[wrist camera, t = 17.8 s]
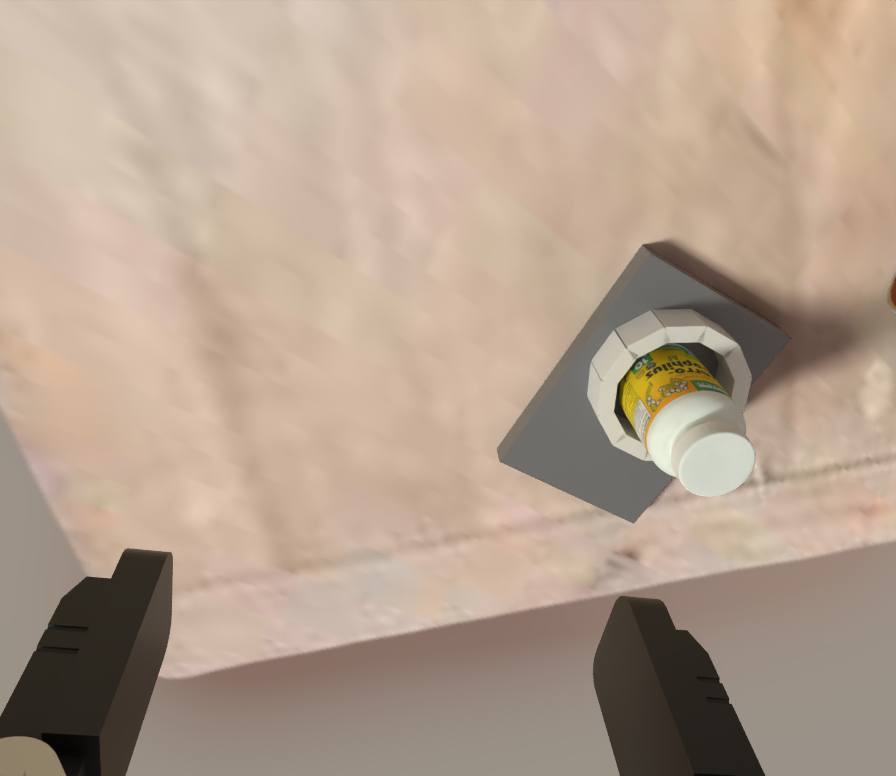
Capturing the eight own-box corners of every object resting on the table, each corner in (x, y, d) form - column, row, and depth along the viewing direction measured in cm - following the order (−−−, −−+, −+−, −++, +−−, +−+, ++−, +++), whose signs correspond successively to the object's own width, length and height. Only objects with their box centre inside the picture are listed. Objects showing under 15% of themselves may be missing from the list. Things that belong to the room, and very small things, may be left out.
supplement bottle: (610, 418, 48) (659, 512, 40) (616, 342, 46) (669, 424, 37) (694, 412, 49) (760, 504, 40) (704, 336, 46) (777, 416, 38)
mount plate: (642, 245, 44) (664, 268, 41) (780, 327, 48) (811, 356, 44) (496, 448, 51) (505, 484, 47) (627, 510, 54) (644, 547, 50)
